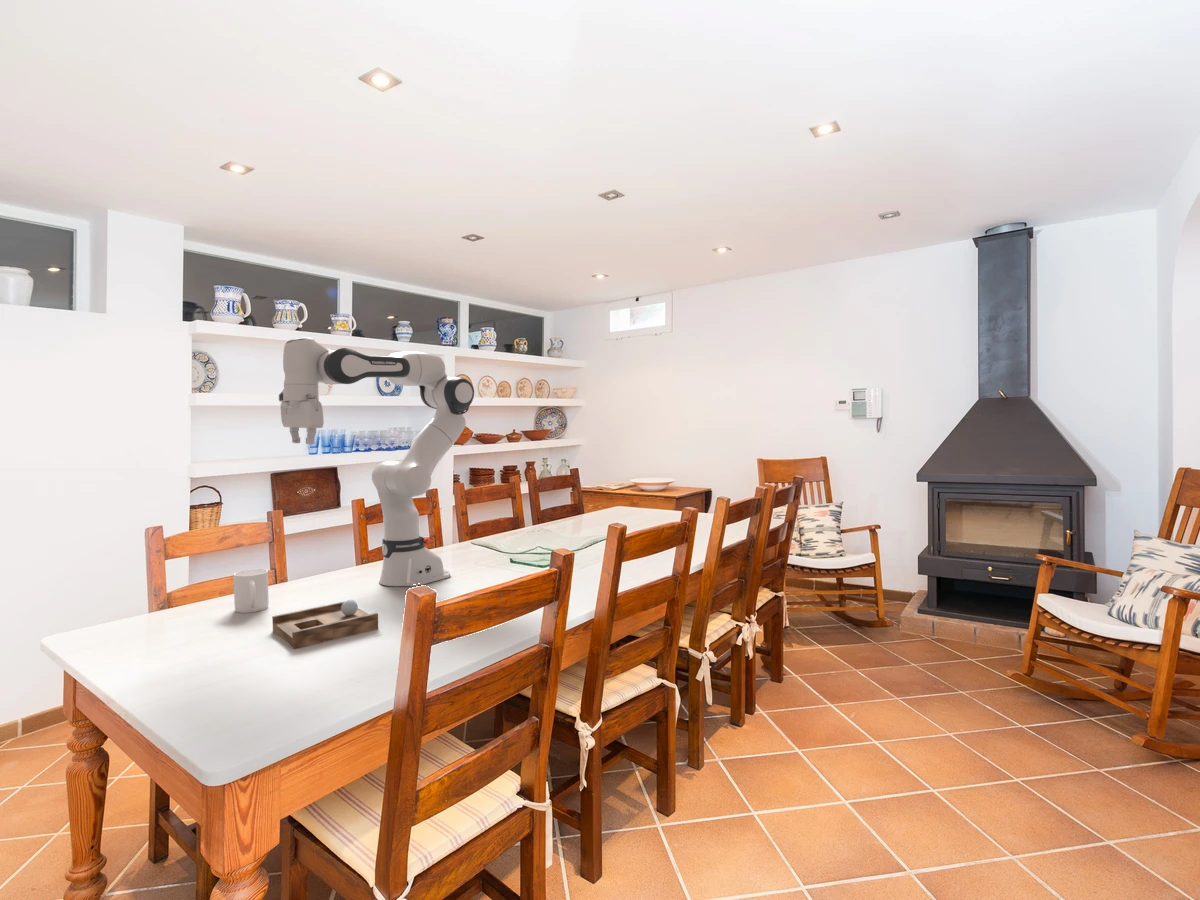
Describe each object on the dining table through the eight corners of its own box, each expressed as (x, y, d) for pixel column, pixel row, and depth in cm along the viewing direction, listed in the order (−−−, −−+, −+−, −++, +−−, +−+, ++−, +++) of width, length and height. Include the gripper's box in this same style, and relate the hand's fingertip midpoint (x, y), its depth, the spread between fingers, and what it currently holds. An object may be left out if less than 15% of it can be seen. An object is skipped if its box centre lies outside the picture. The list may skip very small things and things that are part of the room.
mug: (270, 614, 168) (269, 576, 167) (235, 619, 163) (234, 580, 163) (267, 602, 178) (266, 567, 177) (234, 607, 173) (233, 571, 173)
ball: (354, 611, 162) (353, 596, 162) (360, 615, 159) (360, 600, 159) (338, 615, 159) (338, 599, 159) (344, 618, 156) (344, 603, 156)
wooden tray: (352, 613, 168) (352, 599, 168) (378, 628, 156) (378, 613, 156) (272, 631, 154) (272, 616, 154) (294, 649, 142) (293, 632, 142)
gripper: (328, 394, 171) (330, 444, 171) (298, 396, 184) (299, 442, 185) (305, 394, 166) (307, 445, 167) (275, 395, 180) (277, 443, 180)
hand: (303, 443), depth 176 cm, fingers open, 8 cm apart
